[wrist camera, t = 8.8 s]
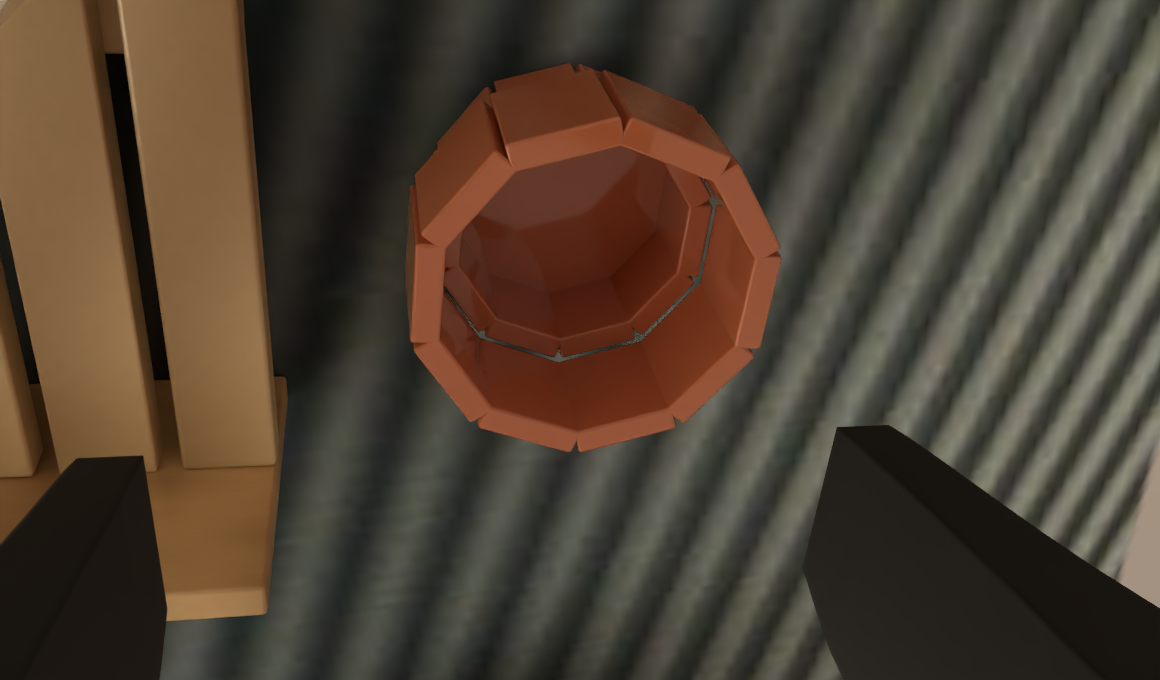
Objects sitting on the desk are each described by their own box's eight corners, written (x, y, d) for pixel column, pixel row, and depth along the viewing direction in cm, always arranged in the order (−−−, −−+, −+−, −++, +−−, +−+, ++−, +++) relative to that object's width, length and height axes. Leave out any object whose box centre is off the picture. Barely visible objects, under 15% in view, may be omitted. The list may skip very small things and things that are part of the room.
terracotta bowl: (626, 348, 23) (678, 483, 19) (353, 261, 21) (352, 394, 17) (758, 104, 21) (847, 204, 17) (466, -21, 18) (494, 61, 15)
